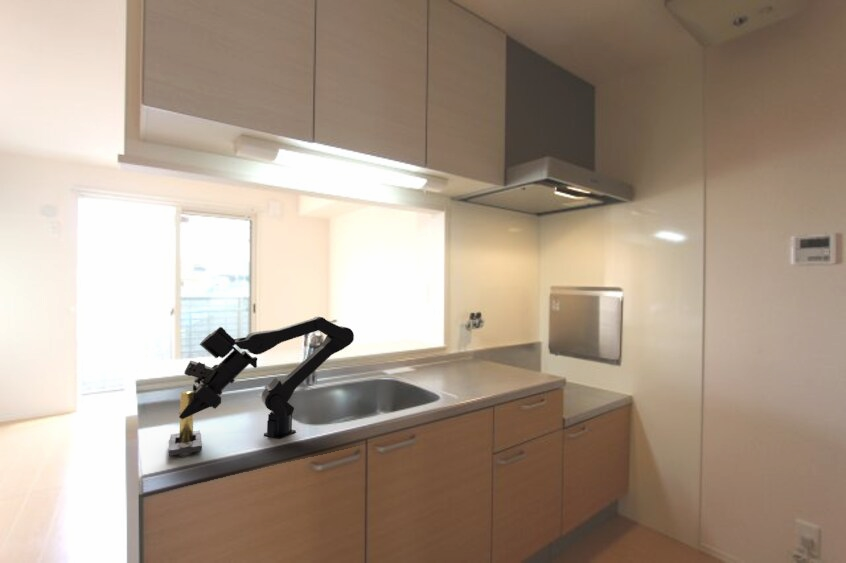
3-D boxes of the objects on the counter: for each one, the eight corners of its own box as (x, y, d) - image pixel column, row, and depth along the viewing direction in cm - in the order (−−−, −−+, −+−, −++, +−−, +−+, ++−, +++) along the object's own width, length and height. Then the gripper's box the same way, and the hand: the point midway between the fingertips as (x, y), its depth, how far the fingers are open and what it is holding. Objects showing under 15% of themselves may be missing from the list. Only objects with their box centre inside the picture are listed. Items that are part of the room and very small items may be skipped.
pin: (187, 440, 106) (189, 390, 106) (195, 442, 105) (196, 391, 105) (176, 444, 103) (178, 393, 104) (184, 446, 102) (185, 394, 102)
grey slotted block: (170, 438, 111) (171, 427, 111) (199, 434, 114) (199, 424, 114) (168, 460, 96) (168, 448, 96) (201, 455, 100) (202, 443, 100)
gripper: (204, 346, 115) (156, 389, 109) (207, 354, 99) (152, 405, 93) (233, 371, 119) (189, 414, 112) (241, 383, 103) (190, 434, 96)
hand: (180, 416), depth 103 cm, fingers closed on pin, 3 cm apart
